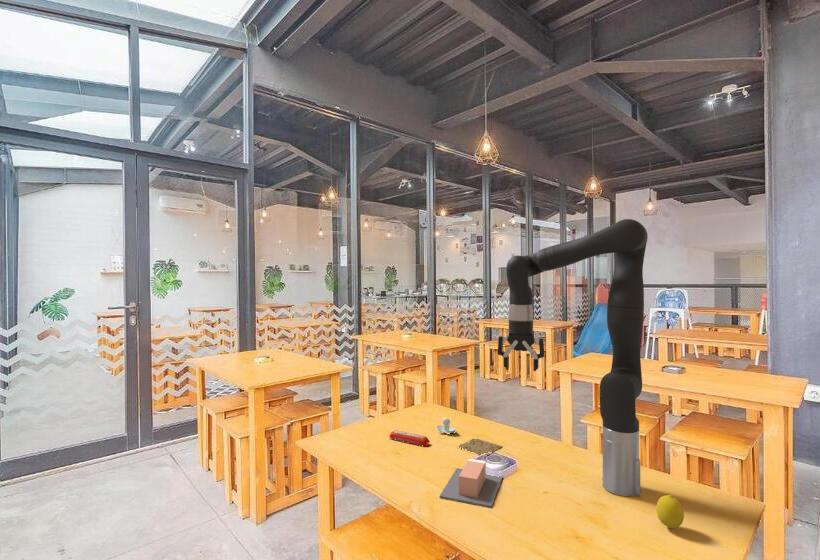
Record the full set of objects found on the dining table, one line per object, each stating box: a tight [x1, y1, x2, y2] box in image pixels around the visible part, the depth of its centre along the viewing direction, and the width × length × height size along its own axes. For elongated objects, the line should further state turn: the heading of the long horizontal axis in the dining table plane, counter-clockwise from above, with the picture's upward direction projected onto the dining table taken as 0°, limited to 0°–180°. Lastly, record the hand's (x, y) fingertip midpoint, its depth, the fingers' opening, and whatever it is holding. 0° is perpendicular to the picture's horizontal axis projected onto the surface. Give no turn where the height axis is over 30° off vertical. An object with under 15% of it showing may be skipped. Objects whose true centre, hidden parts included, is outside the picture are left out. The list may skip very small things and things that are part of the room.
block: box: [459, 458, 487, 498], centre depth 121 cm, size 5×5×12 cm
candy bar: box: [388, 429, 431, 447], centre depth 155 cm, size 16×4×3 cm, turn 60°
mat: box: [438, 467, 503, 508], centre depth 121 cm, size 14×18×1 cm
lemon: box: [655, 494, 685, 530], centre depth 101 cm, size 6×6×8 cm
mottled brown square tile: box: [458, 438, 504, 456], centre depth 150 cm, size 12×12×1 cm
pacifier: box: [436, 417, 457, 434], centre depth 164 cm, size 7×6×6 cm
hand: (520, 369), depth 136 cm, fingers open, 8 cm apart
